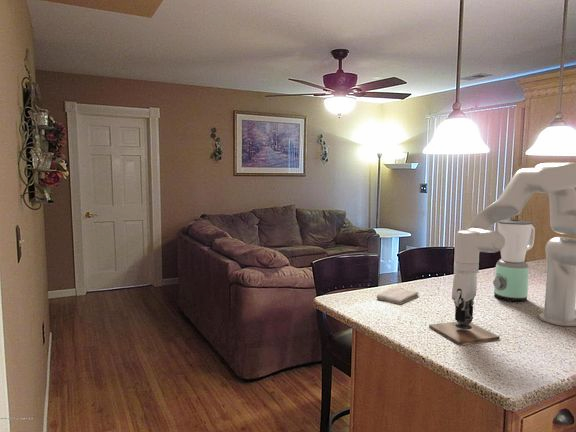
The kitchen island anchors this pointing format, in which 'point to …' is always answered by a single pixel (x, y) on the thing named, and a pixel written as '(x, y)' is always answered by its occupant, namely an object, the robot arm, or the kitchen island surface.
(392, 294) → the washcloth
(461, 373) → the kitchen island surface
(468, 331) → the walnut board
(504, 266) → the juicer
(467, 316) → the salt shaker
